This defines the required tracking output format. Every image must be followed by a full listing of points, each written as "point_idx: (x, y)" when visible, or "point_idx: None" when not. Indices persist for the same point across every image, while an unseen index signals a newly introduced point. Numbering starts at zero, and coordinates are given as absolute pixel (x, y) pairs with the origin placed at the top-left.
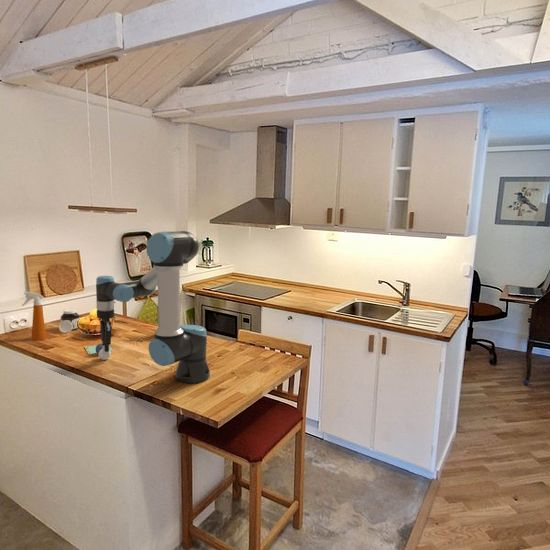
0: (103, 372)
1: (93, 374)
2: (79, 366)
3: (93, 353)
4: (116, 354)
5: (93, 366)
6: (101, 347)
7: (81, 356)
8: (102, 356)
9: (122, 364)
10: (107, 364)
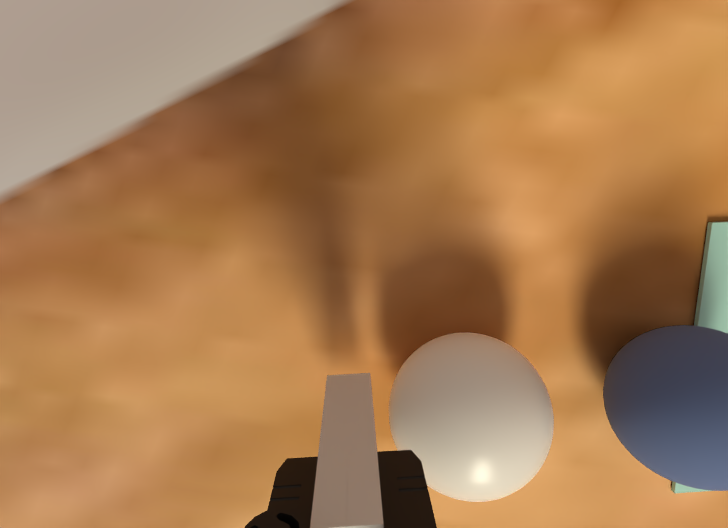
0: (39, 304)
1: (7, 193)
2: (344, 69)
3: (706, 288)
4: (547, 501)
5: (275, 229)
6: (659, 420)
7: (694, 141)
8: (400, 373)
9: (217, 509)
10: (278, 378)
